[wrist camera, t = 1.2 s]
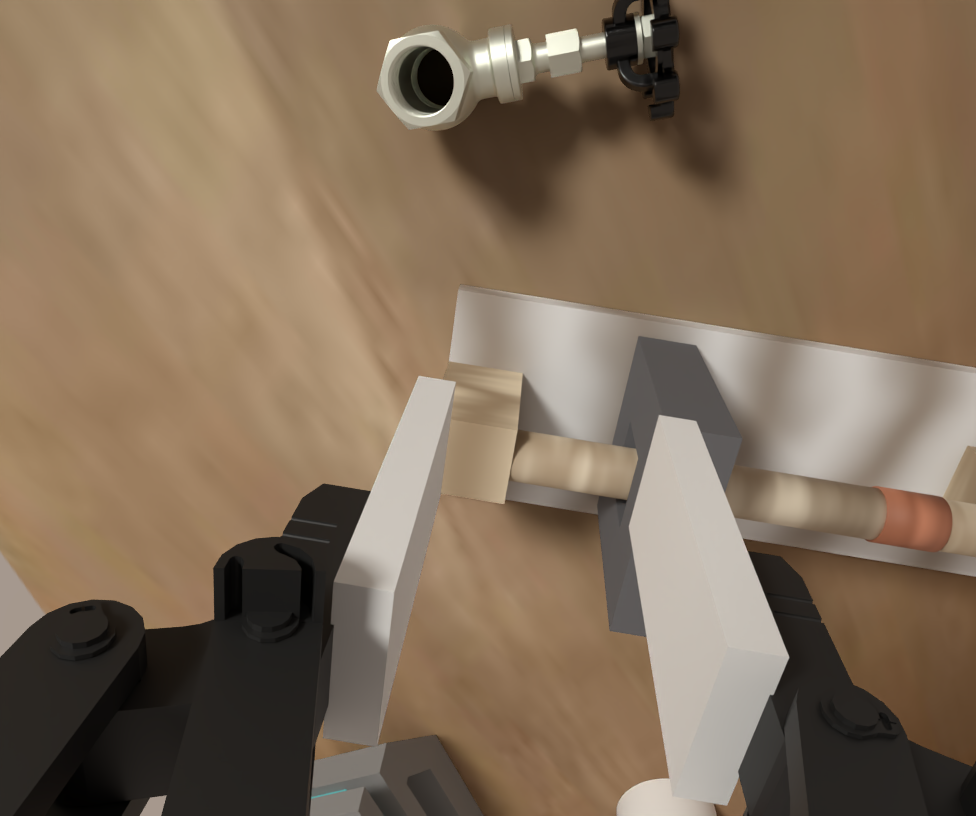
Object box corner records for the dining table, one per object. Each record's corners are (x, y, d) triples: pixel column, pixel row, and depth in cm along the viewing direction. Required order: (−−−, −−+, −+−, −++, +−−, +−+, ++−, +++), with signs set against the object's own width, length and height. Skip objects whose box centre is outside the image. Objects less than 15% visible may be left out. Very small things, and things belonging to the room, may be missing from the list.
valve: (416, 157, 37) (663, 111, 35) (390, 176, 31) (685, 123, 29) (385, 8, 34) (650, -49, 33) (350, -2, 28) (672, -72, 27)
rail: (435, 478, 45) (413, 558, 38) (460, 284, 40) (440, 334, 32) (969, 566, 44) (1049, 663, 37) (1065, 382, 39) (1179, 454, 32)
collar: (597, 505, 43) (609, 630, 34) (638, 335, 39) (666, 426, 29) (648, 513, 43) (675, 641, 34) (696, 345, 39) (742, 438, 29)
